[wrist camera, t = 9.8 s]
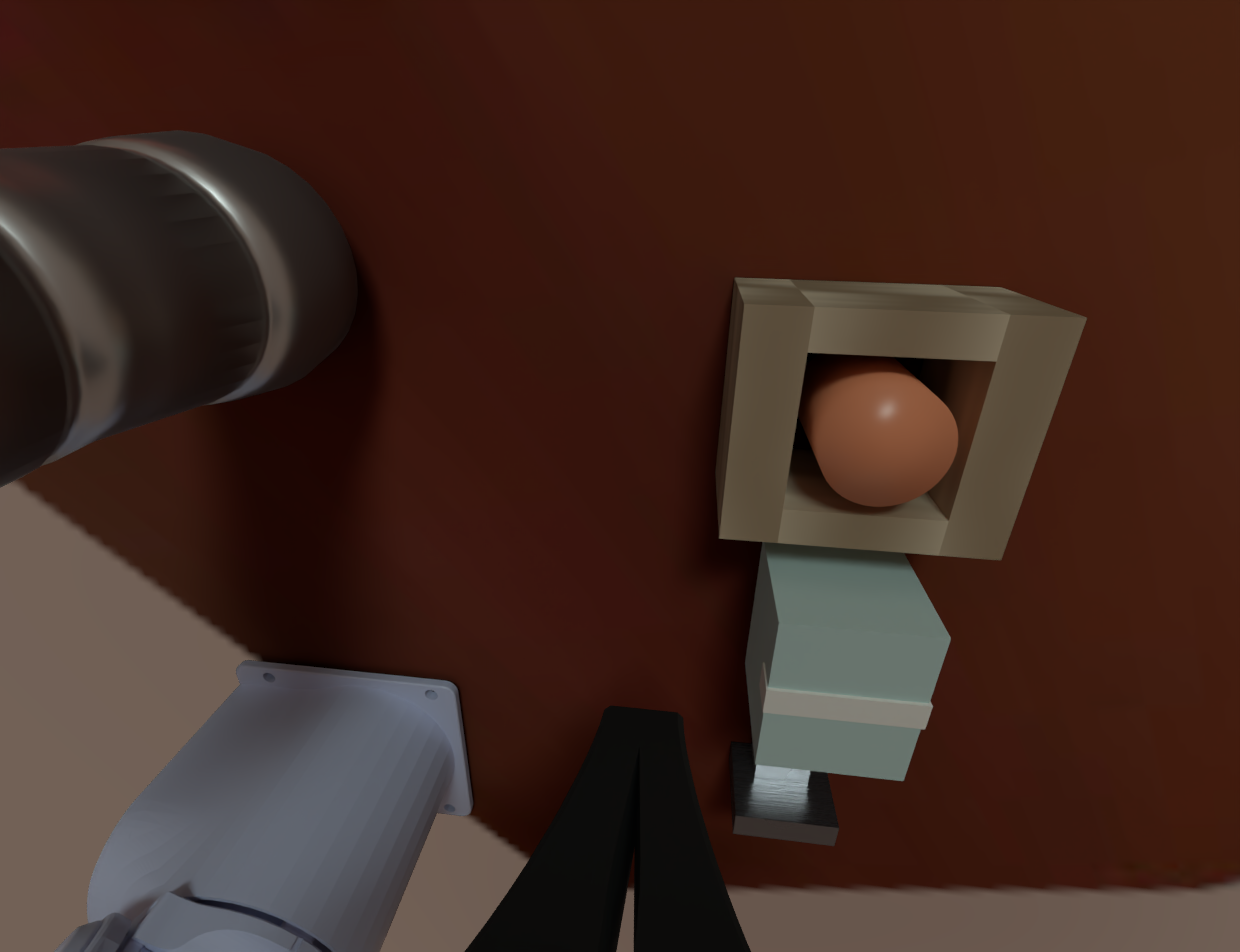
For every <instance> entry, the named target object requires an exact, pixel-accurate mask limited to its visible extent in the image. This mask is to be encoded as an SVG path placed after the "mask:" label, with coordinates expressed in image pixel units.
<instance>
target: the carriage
mask: <svg viewBox="0 0 1240 952" xmlns="http://www.w3.org/2000/svg"><path fill="white" fill-rule="evenodd" d="M950 640H951V638H950V636H949V634H948V632H947V630H946V629H945V627H944V625H943V623H942V621H941V620H940V618H939V616H938V614H937V612H936V610H935V609H934V607H933V605H932V603H931V601H930V600H929V598H928V596H927V594H926V592H925V591H924V589H923V587H922V585H921V583H920V581H919V580H918V578H917V576H916V574H915V572H914V571H913V569H912V567H911V565H910V563H909V562H908V560H907V558H906V556H905V554H904V553H900V552H887V551H874V550H861V549H848V548H835V547H822V546H809V545H796V544H783V543H770V542H762V549H761V555H760V562H759V569H758V576H757V583H756V590H755V597H754V604H753V611H752V618H751V625H750V632H749V638H748V645H747V652H746V659H745V668H746V678H747V688H748V699H749V709H750V719H751V730H752V740H753V750H754V761H755V765H764V766H773V767H782V768H791V769H800V770H809V771H818V772H827V773H836V774H845V775H854V776H862V777H871V778H880V779H889V780H898V781H904V778H905V775H906V772H907V769H908V766H909V763H910V760H911V757H912V754H913V751H914V748H915V745H916V742H917V739H918V736H919V733H920V730H921V729H925V728H926V725H927V722H928V719H929V716H930V713H931V710H932V707H933V706H932V704H931V702H930V700H931V697H932V694H933V691H934V688H935V685H936V682H937V679H938V676H939V673H940V670H941V667H942V664H943V661H944V658H945V655H946V652H947V649H948V646H949V643H950Z"/></svg>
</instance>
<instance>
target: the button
mask: <svg viewBox="0 0 1240 952" xmlns="http://www.w3.org/2000/svg"><path fill="white" fill-rule="evenodd" d="M798 417H799V419H800V422H801V424H802V426H803V429H804V431H805V433H806V436H807V438H808V440H809V443H810V445H811V447H812V450H813V452H814V455H815V457H816V459H817V462H818V464H819V466H820V469H821V471H822V473H823V476H824V477H825V479H826V481H827V482H828V484H829V485H830V486H831V487H832V488H833V489H834V490H835V491H836V492H837V493H838V494H839V495H841V496H842V497H844V498H846V499H847V500H849V501H852V502H854V503H857V504H861V505H865V506H872V507H886V506H893V505H898V504H902V503H905V502H908V501H911V500H913V499H915V498H917V497H919V496H921V495H923V494H925V493H926V492H927V491H929V490H930V489H932V488H933V487H934V486H935V485H936V484H937V483H938V482H939V481H940V480H941V479H942V478H943V477H944V476H945V474H946V473H947V471H948V470H949V468H950V466H951V464H952V463H953V460H954V458H955V455H956V452H957V447H958V429H957V425H956V421H955V419H954V417H953V414H952V413H951V411H950V410H949V408H948V407H947V406H946V405H945V404H944V403H943V402H942V401H941V400H940V399H939V398H938V397H937V396H936V395H935V394H934V393H933V392H931V391H930V390H929V389H928V388H927V387H926V386H925V385H924V384H923V383H922V382H920V381H919V380H918V379H917V378H916V377H915V376H914V375H913V374H912V373H910V372H909V371H908V370H907V369H906V368H905V367H904V366H903V365H902V364H901V363H899V362H898V361H897V360H896V359H895V358H894V357H889V356H868V355H847V354H826V353H819V354H817V355H816V356H815V357H814V358H813V359H812V360H810V362H809V363H808V364H807V365H806V366H805V372H804V378H803V385H802V391H801V397H800V404H799V410H798Z"/></svg>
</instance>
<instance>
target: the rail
mask: <svg viewBox="0 0 1240 952" xmlns="http://www.w3.org/2000/svg"><path fill="white" fill-rule="evenodd" d="M729 768H730V787H731V806H732V825H733V834H741V835H749V836H757V837H765V838H773V839H781V840H790V841H798V842H806V843H814V844H822V845H830V846H834V845H835V841H836V837H837V834H838V830H839V826H838V821H837V816H836V812H835V807H834V803H833V798H832V793H831V789H830V784H829V780H828V775H827V772H818V771H809V770H800V769H791V768H782V767H773V766H764V765H755V761H754V750H753V740H752V743H751V744H747V743H738V742H731V748H730V755H729Z"/></svg>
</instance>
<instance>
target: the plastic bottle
mask: <svg viewBox="0 0 1240 952" xmlns="http://www.w3.org/2000/svg"><path fill="white" fill-rule="evenodd" d="M357 298H358V285H357V271H356V267H355V263H354V259H353V255H352V251H351V248H350V245H349V243H348V241H347V239H346V236H345V234H344V232H343V229H342V227H341V225H340V224H339V222H338V220H337V219H336V217H335V216H334V214H333V213H332V211H331V210H330V208H329V207H328V205H327V204H326V202H325V201H324V200H323V199H322V198H321V197H320V196H319V195H318V193H317V192H316V191H315V190H314V189H313V188H312V187H311V186H310V184H308V183H307V182H306V181H305V180H304V179H302V178H301V177H300V176H299V175H297V174H296V173H295V172H294V171H293V170H291V169H290V168H289V167H287V166H285V165H284V164H282V163H280V162H278V161H277V160H275V159H273V158H271V157H270V156H268V155H266V154H263V153H260V152H257V151H254V150H252V149H249V148H246V147H243V146H240V145H237V144H234V143H231V142H228V141H225V140H222V139H219V138H216V137H213V136H210V135H206V134H201V133H194V132H187V131H179V130H177V131H166V132H155V133H144V134H133V135H122V136H112V137H106V138H101V139H97V140H92V141H88V142H83V143H80V144H78V145H75V146H53V147H29V148H6V149H0V487H3V486H5V485H7V484H9V483H11V482H13V481H15V480H17V479H19V478H21V477H23V476H24V475H26V474H28V473H30V472H32V471H33V470H35V469H37V468H39V467H40V466H41V465H45V464H49V463H51V462H53V461H55V460H58V459H60V458H62V457H64V456H66V455H68V454H70V453H72V452H74V451H76V450H78V449H80V448H82V447H84V446H86V445H88V444H90V443H92V442H94V441H97V440H100V439H103V438H106V437H109V436H112V435H115V434H118V433H121V432H124V431H127V430H130V429H133V428H136V427H139V426H142V425H145V424H148V423H151V422H154V421H157V420H160V419H163V418H166V417H169V416H172V415H175V414H178V413H181V412H184V411H187V410H190V409H193V408H196V407H199V406H203V405H211V404H217V403H223V402H230V401H235V400H239V399H243V398H247V397H251V396H254V395H258V394H261V393H265V392H269V391H272V390H276V389H279V388H283V387H286V386H289V385H290V384H292V383H294V382H296V381H298V380H300V379H302V378H304V377H305V376H306V375H307V374H309V373H310V372H311V371H312V370H313V369H314V368H315V367H316V366H318V365H319V364H320V363H321V362H322V361H323V360H324V359H325V358H327V357H328V356H329V355H330V354H331V353H332V352H333V351H334V350H335V349H337V348H338V347H339V345H340V344H341V342H342V341H343V339H344V338H345V336H346V335H347V333H348V332H349V330H350V327H351V324H352V321H353V319H354V316H355V313H356V305H357Z"/></svg>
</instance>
